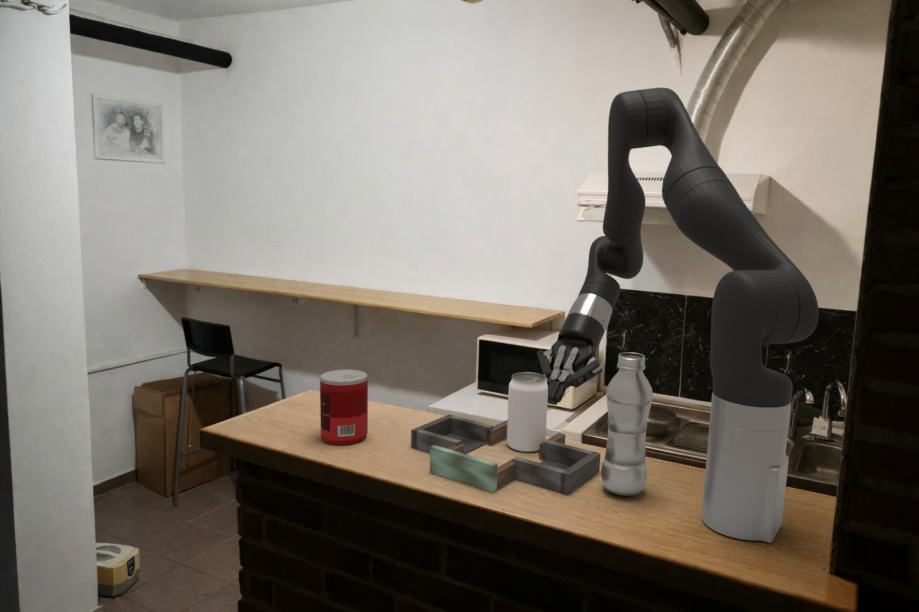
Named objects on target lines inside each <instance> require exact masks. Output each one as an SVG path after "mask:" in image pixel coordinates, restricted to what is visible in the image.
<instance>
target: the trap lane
mask: <svg viewBox="0 0 919 612" xmlns="http://www.w3.org/2000/svg"><path fill="white" fill-rule="evenodd" d="M504 440H507V419H506V420H504V421H501V422H500V423H498V424H496V425H492V424H488V423H484V422H480V421H476V420H473V419H470V418H464V417H461V416H457V415H454V414H450V413H449V414H447V415H444V416H442V417H439V418H437V419H434V420H432V421H430V422H427V423H424V424H422V425H420V426H417V427H415V428H413V429H412V428H411V431H410V448H412V449H415V450H420V451H423V452H425V453H427V454H429V473H431V474H434V475H436V476H437V475H438V476H441V477H443V478H446V479H450V480H453V481H456V482H460V483H462V484H466V485H469V486H472V487H475V488H477V489H481V490H483V491H486V492H490V493H494V492H496V491H499V489H502V488H503V487H504V486H506V485H508V484H509V483H511V482H512V481H514V480H517V481H520V482H525V483H527V484H530V485H534V486H537V487H540V488H544V489H547V490H550V491H554V492H557V493H559V494H564V495H567V496H568V495H570V494H572V492H574V491H576V490H577V489H578V488H579V487H581V486H582V485H584V484H585V483H587V482H588V481H589V480H590V478H591V479H592V478H594V477H595V476H596V475H597V474H599V473H600V472H601V469H600V468H601V454H602V453H600V452H597V451H594V450H590V449H589V450H588V449H585V448H582V447H577V446H574V445H569V444H566V434H565V433H561V432H558V433H556V434H554V435H552V436H551V437H550V438H547V439H546V440H545V441H543V442H542V443H540V447H539V451H538V452H539V453H538V459H539V460H542V461H541V462H537V461H535V460H530V459H527V458H523V457H520V456H517V455H516V456H515V457H513V458H512V459H509V460H508V461H506V462H505V463H503V464H501V465H498V463H497V462H494V461H490V460H488V459H487V460H486V459H484V458H483V459H482V458H480V457H476V456H473V455H470V454H468V453H471V452H473V451H475V450H477V449H479V448H481V447H483V446H484V445H489V446H494V445H496V444H498V443H500V442H501V441H504ZM598 472H599V473H598ZM595 474H596V475H595ZM594 475H595V476H594Z"/></svg>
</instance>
